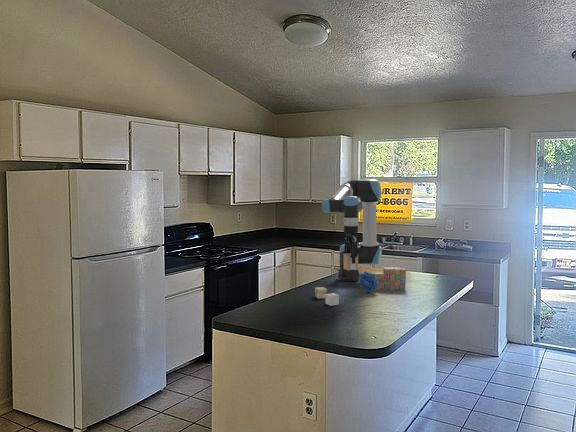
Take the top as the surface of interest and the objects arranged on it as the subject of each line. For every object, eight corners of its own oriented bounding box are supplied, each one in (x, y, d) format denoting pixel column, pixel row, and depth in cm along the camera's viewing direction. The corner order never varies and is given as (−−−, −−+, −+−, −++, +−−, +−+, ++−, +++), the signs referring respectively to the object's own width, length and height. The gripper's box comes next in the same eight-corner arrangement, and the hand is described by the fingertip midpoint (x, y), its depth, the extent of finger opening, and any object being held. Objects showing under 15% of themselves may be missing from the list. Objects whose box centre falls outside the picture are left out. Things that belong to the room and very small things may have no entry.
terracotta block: (343, 268, 272) (343, 253, 271) (353, 267, 273) (354, 253, 273) (347, 270, 266) (347, 255, 265) (358, 269, 267) (358, 254, 267)
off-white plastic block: (325, 303, 260) (325, 294, 260) (333, 302, 263) (333, 293, 263) (330, 305, 256) (330, 296, 256) (339, 304, 259) (339, 295, 258)
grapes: (355, 293, 285) (355, 272, 285) (359, 290, 291) (359, 270, 291) (375, 295, 280) (375, 273, 279) (379, 292, 286) (379, 271, 285)
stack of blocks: (368, 289, 296) (368, 268, 295) (367, 287, 302) (367, 266, 301) (405, 290, 294) (405, 269, 293) (403, 287, 300) (404, 267, 299)
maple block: (315, 296, 277) (315, 287, 276) (323, 296, 278) (323, 287, 277) (317, 298, 272) (317, 289, 271) (326, 298, 273) (326, 289, 273)
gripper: (338, 224, 276) (337, 265, 278) (350, 227, 258) (350, 271, 259) (351, 223, 278) (350, 265, 280) (364, 226, 260) (364, 271, 261)
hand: (350, 268), depth 269 cm, fingers closed on terracotta block, 6 cm apart
